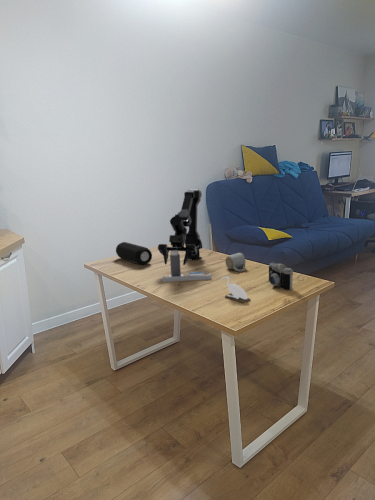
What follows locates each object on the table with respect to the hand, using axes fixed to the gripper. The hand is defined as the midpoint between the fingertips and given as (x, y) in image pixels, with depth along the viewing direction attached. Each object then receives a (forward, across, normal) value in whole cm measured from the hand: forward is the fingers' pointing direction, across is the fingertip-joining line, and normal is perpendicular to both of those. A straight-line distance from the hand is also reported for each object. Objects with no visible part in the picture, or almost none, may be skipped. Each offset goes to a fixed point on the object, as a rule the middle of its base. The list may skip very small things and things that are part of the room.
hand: (174, 264), depth 171 cm
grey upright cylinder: (+4, 0, +6) cm, 7 cm away
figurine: (+19, +31, -8) cm, 37 cm away
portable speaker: (-14, -34, +24) cm, 44 cm away
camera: (+7, +48, +4) cm, 49 cm away
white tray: (+3, +5, +7) cm, 9 cm away
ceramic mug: (-8, +27, +19) cm, 34 cm away
